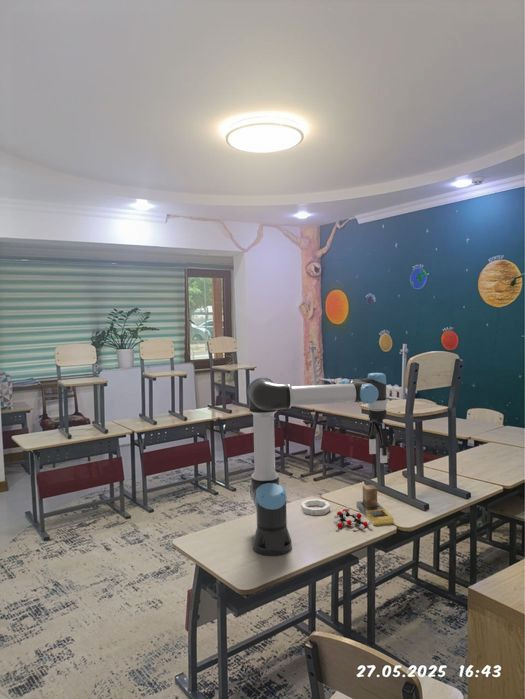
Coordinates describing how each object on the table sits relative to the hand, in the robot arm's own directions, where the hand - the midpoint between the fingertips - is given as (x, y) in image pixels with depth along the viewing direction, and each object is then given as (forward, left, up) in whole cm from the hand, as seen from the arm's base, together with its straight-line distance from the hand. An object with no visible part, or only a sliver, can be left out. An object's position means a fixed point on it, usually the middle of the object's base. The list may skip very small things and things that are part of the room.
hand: (378, 458), depth 211 cm
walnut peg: (+1, +12, -28) cm, 30 cm away
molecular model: (-12, 0, -28) cm, 31 cm away
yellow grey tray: (+1, +7, -28) cm, 29 cm away
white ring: (-23, +19, -28) cm, 41 cm away
